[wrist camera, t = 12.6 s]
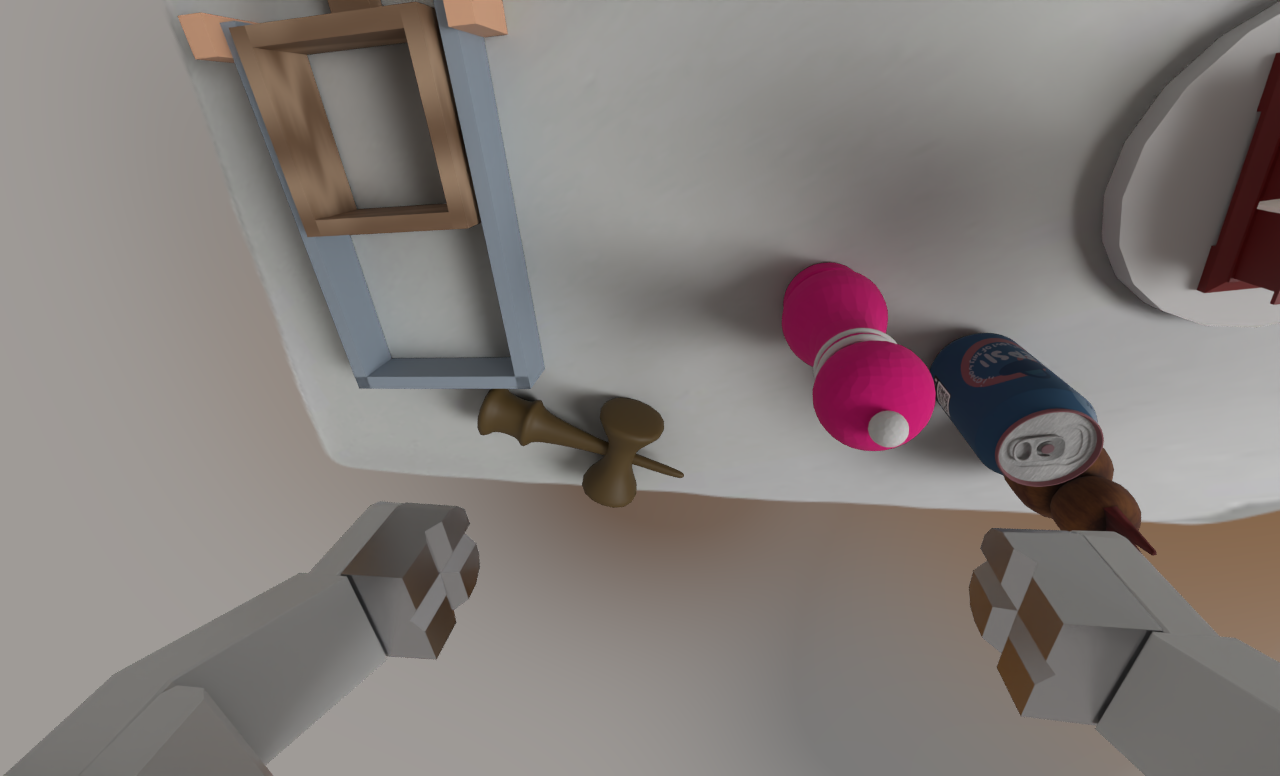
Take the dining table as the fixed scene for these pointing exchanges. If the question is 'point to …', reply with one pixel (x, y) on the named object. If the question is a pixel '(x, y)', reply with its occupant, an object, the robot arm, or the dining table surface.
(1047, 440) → the soda can
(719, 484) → the dining table surface
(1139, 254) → the gramophone
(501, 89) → the dining table surface
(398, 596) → the robot arm
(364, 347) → the frame
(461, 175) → the wooden square frame
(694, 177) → the dining table surface
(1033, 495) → the wooden figurine
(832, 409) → the pepper mill
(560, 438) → the kendama
